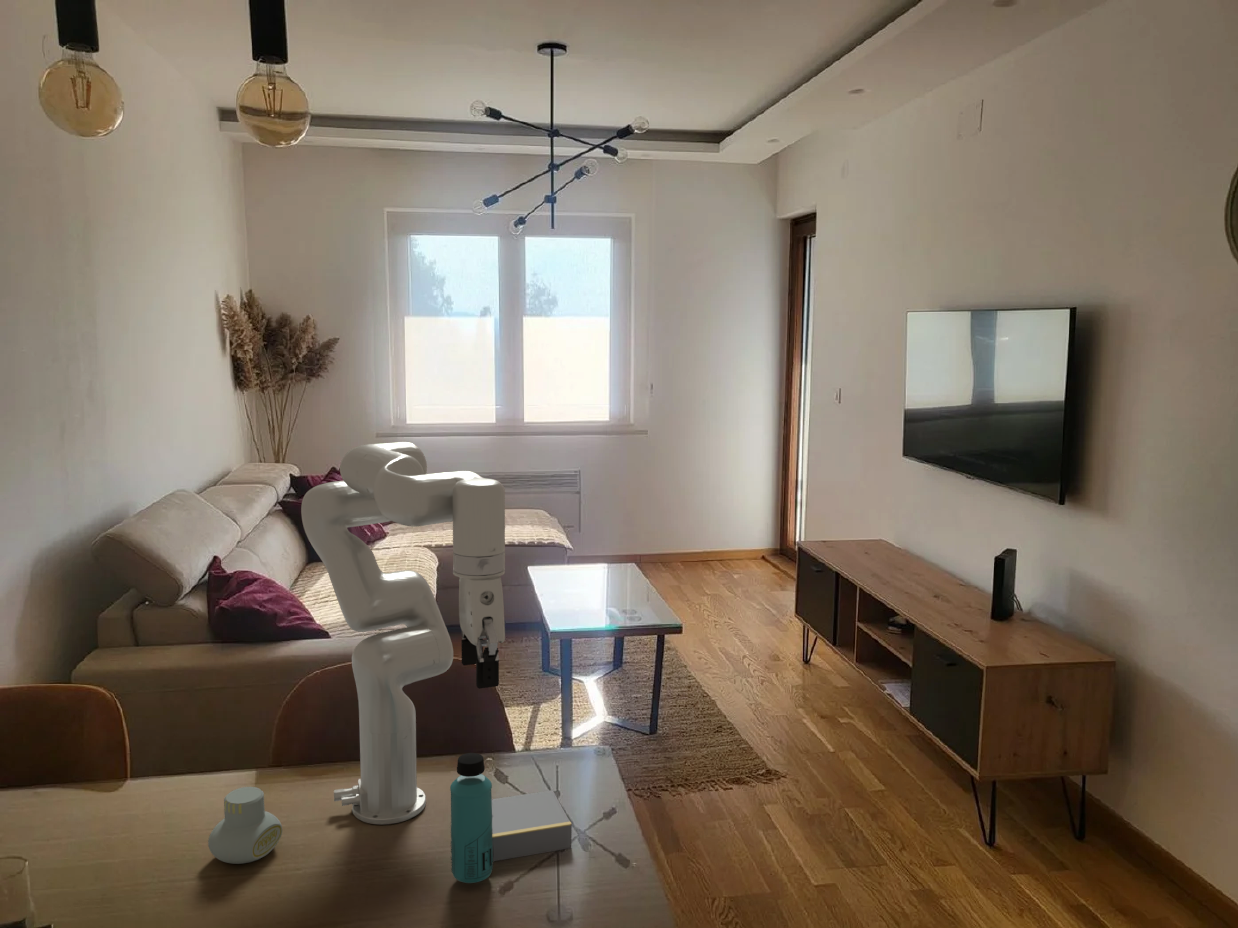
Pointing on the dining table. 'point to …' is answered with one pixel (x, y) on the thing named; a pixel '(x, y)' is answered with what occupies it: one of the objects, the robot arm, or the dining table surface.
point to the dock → (529, 825)
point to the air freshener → (244, 828)
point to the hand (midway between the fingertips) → (479, 674)
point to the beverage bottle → (471, 821)
